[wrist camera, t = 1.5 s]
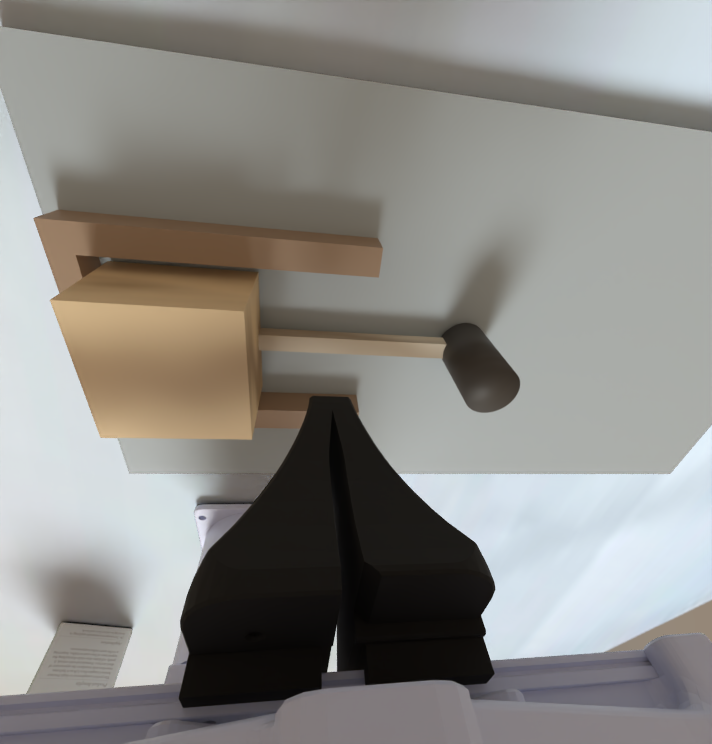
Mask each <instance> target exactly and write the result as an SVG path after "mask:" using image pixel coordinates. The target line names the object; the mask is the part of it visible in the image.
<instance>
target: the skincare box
mask: <svg viewBox="0 0 712 744" xmlns="http://www.w3.org/2000/svg"><path fill="white" fill-rule="evenodd" d="M131 634H132V629H129V628H120V627H109V626H98V625H87V624H75V623H61V624H60V625H59V628H58V630H57V632H56V634H55V636H54V638H53V640H52V642H51V644H50V646H49V648H48V650H47V652H46V655H45V657H44V659H43V661H42V663H41V665H40V667H39V669H38V671H37V673H36V675H35V677H34V679H33V681H32V683H31V685H30V687H29V689H28V691H27V693H26V694H34V693H48V692H62V691H76V690H90V689H104V688H114V685H115V682H116V679H117V676H118V673H119V670H120V667H121V664H122V661H123V658H124V655H125V652H126V649H127V646H128V643H129V640H130V637H131Z"/></svg>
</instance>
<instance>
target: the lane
mask: <svg viewBox="0 0 712 744" xmlns="http://www.w3.org/2000/svg"><path fill="white" fill-rule="evenodd" d="M0 88H1V91H2V94H3V97H4V100H5V103H6V106H7V109H8V112H9V115H10V118H11V121H12V124H13V127H14V130H15V133H16V136H17V139H18V142H19V145H20V148H21V151H22V154H23V157H24V160H25V163H26V166H27V169H28V172H29V175H30V178H31V181H32V184H33V187H34V190H35V193H36V196H37V199H38V202H39V205H40V208H41V211H42V214H43V215H41V216H38V217H35V218H34V221H35V224H36V227H37V230H38V233H39V235H40V238H41V241H42V244H43V247H44V250H45V253H46V256H47V258H48V261H49V264H50V267H51V270H52V273H53V276H54V278H55V281H56V284H57V287H58V290H59V293H61V292H63V291H64V290H66V289H67V288H69V287H70V286H72V285H73V284H74V283H76V282H77V281H79V280H80V279H82V278H83V277H85V276H86V275H88V274H89V273H91V272H92V271H94V270H95V269H97V268H98V267H100V266H101V265H103V264H104V263H106V262H107V261H113V262H127V263H140V264H154V265H168V266H181V267H195V268H209V269H222V270H236V271H250V272H259V298H260V325H261V328H273V329H292V330H311V331H329V332H348V333H367V334H386V335H404V336H423V337H442V335H443V334H444V333H445V332H446V331H447V330H448V329H449V328H451V327H453V326H455V325H457V324H461V323H471V324H474V325H476V326H478V327H479V328H480V329H481V330H482V331H483V333H484V334H485V335H486V336H487V338H488V339H489V340H490V341H491V343H492V344H493V345H494V346H495V348H496V349H497V350H498V351H499V353H500V354H501V355H502V356H503V358H504V359H505V360H506V361H507V363H508V364H509V365H510V366H511V367H512V369H513V370H514V371H515V372H516V374H517V375H518V377H519V379H520V389H519V392H518V394H517V395H516V397H515V398H514V399H513V401H512V402H511V403H509V404H508V405H507V406H505V407H504V408H502V409H500V410H497V411H494V412H489V413H480V412H476V411H473V410H471V409H470V408H469V407H468V406H467V405H466V403H465V401H464V399H463V397H462V396H461V394H460V392H459V390H458V388H457V386H456V384H455V383H454V381H453V379H452V377H451V375H450V373H449V371H448V370H447V368H446V366H445V364H444V362H443V360H442V359H441V358H419V357H397V356H375V355H352V354H330V353H308V352H286V351H264V350H261V353H262V380H263V386H262V391H261V396H260V401H259V407H258V412H257V417H256V422H255V427H254V432H253V437H252V440H239V439H161V438H118V441H119V444H120V447H121V450H122V453H123V456H124V459H125V462H126V465H127V468H128V471H129V474H275V473H276V472H277V470H278V469H279V467H280V466H281V464H282V462H283V461H284V459H285V457H286V456H287V454H288V452H289V450H290V448H291V447H292V445H293V443H294V441H295V439H296V437H297V435H298V433H299V430H300V428H301V426H302V423H303V421H304V418H305V415H306V412H307V409H308V405H309V398H310V397H312V396H336V397H349V398H350V399H351V401H352V404H353V406H354V408H355V410H356V412H357V414H358V416H359V418H360V420H361V422H362V424H363V425H364V427H365V429H366V430H367V432H368V434H369V435H370V437H371V438H372V440H373V442H374V443H375V445H376V446H377V448H378V449H379V450H380V452H381V453H382V455H383V456H384V457H385V459H386V460H387V461H388V463H389V464H390V465H391V467H392V468H393V469H394V470H395V471H396V473H397V474H671V472H672V471H673V470H674V469H675V468H676V466H677V465H678V464H679V463H680V462H681V461H682V459H683V458H684V457H685V456H686V455H687V453H688V452H689V451H690V450H691V449H692V447H693V446H694V445H695V444H696V443H697V442H698V440H699V439H700V438H701V437H702V436H703V434H704V433H705V432H706V431H707V430H708V429H709V427H710V426H711V425H712V132H709V131H703V130H696V129H689V128H682V127H676V126H669V125H662V124H655V123H649V122H642V121H635V120H628V119H622V118H615V117H608V116H601V115H595V114H588V113H581V112H574V111H568V110H561V109H554V108H547V107H541V106H534V105H527V104H520V103H514V102H507V101H500V100H494V99H487V98H480V97H473V96H467V95H460V94H453V93H446V92H440V91H433V90H426V89H419V88H413V87H406V86H399V85H392V84H386V83H379V82H372V81H365V80H359V79H352V78H345V77H338V76H332V75H325V74H318V73H312V72H305V71H298V70H291V69H285V68H278V67H271V66H264V65H258V64H251V63H244V62H237V61H231V60H224V59H217V58H210V57H204V56H197V55H190V54H183V53H177V52H170V51H163V50H156V49H150V48H143V47H136V46H130V45H123V44H116V43H109V42H103V41H96V40H89V39H82V38H76V37H69V36H62V35H55V34H49V33H42V32H35V31H28V30H22V29H15V28H8V27H1V26H0Z"/></svg>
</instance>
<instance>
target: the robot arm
mask: <svg viewBox="0 0 712 744" xmlns="http://www.w3.org/2000/svg"><path fill="white" fill-rule="evenodd" d="M194 515H195V520H196V525H197V529H198V534H199V539H200V543H201V548H202V553H201V557H200V561H199V565H198V569H197V572H196V574H195V577H194V579H193V581H192V584H191V586H190V589H189V591H188V594H187V598H186V601H185V605H184V609H183V612H182V616H181V620H180V627H181V634H180V638H179V641H178V645H177V649H176V653H175V657H174V661H173V664H172V665H170V666H169V668H168V672H167V676H166V679H165V683H164V684H159V685H146V686H132V687H118V688H104V689H90V690H76V691H62V692H48V693H34V694H20V695H6V696H0V744H712V643H711V641H710V640H709V639H708V637H707V636H706V635H705V634H702V633H689V634H675V635H666V636H661V637H659V638H656V639H654V640H652V641H651V642H650V643H648V644H647V645H646V646H645V647H644V650H633V651H619V652H604V653H591V654H577V655H563V656H549V657H535V658H521V659H507V660H493V661H490V658H489V654H488V651H487V648H486V645H485V642H484V639H483V636H485V634H486V630H485V627H484V624H483V621H482V618H481V614H482V613H483V611H484V610H485V608H486V607H487V605H488V603H489V602H490V600H491V598H492V596H493V594H494V591H495V584H494V580H493V578H492V575H491V573H490V570H489V568H488V566H487V564H486V562H485V560H484V558H483V556H482V554H481V552H480V550H479V548H478V546H477V544H476V543H475V542H474V541H472V540H471V539H470V538H468V537H467V536H466V535H464V534H463V533H461V532H460V531H459V530H457V529H456V528H455V527H453V526H452V525H451V524H449V523H448V522H447V521H446V520H444V519H443V518H442V517H441V516H440V515H438V514H437V513H436V512H435V511H434V510H433V509H431V508H430V507H429V506H428V505H427V504H426V503H425V502H424V501H423V500H422V499H421V498H420V497H419V496H418V495H417V494H416V493H415V492H414V491H413V490H412V489H411V488H410V487H409V486H408V485H407V484H406V483H405V482H404V481H403V480H402V478H401V477H400V476H399V475H398V474H397V473H396V471H395V470H394V469H393V468H392V467H391V465H390V464H389V463H388V461H387V460H386V459H385V457H384V456H383V455H382V453H381V452H380V450H379V449H378V448H377V446H376V445H375V443H374V442H373V440H372V438H371V437H370V435H369V434H368V432H367V430H366V429H365V427H364V425H363V424H362V422H361V420H360V418H359V416H358V414H357V412H356V410H355V408H354V406H353V404H352V401H351V399H350V398H349V397H336V396H312V397H310V398H309V405H308V409H307V412H306V415H305V418H304V421H303V423H302V426H301V428H300V430H299V433H298V435H297V437H296V439H295V441H294V443H293V445H292V447H291V448H290V450H289V452H288V454H287V456H286V457H285V459H284V461H283V462H282V464H281V466H280V467H279V469H278V470H277V472H276V473H275V475H274V476H273V478H272V479H271V480H270V482H269V483H268V485H267V486H266V487H265V489H264V490H263V491H262V493H261V494H260V495H259V496H258V498H257V499H256V500H255V501H254V503H253V504H202V505H198V506H196V507H195V511H194ZM336 625H337V672H327V669H328V663H329V658H330V652H331V646H333V642H334V637H335V631H336Z"/></svg>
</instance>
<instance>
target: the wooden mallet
mask: <svg viewBox="0 0 712 744" xmlns="http://www.w3.org/2000/svg"><path fill="white" fill-rule="evenodd" d="M50 301H51V304H52V307H53V310H54V312H55V315H56V318H57V320H58V323H59V326H60V329H61V331H62V334H63V337H64V339H65V342H66V345H67V348H68V350H69V353H70V356H71V358H72V361H73V364H74V367H75V369H76V372H77V375H78V377H79V380H80V383H81V386H82V388H83V391H84V394H85V396H86V399H87V402H88V405H89V407H90V410H91V413H92V415H93V418H94V421H95V424H96V426H97V429H98V432H99V434H100V437H101V438H161V439H239V440H252V437H253V432H254V427H255V422H256V417H257V412H258V407H259V401H260V396H261V391H262V386H263V380H262V353H261V350H264V351H286V352H308V353H330V354H352V355H375V356H397V357H419V358H441V359H442V360H443V362H444V364H445V366H446V368H447V370H448V371H449V373H450V375H451V377H452V379H453V381H454V383H455V384H456V386H457V388H458V390H459V392H460V394H461V396H462V397H463V399H464V401H465V403H466V405H467V406H468V407H469V408H470V409H471V410H473V411H476V412H480V413H489V412H494V411H497V410H500V409H502V408H504V407H505V406H507V405H508V404H509V403H511V402H512V401H513V399H514V398H515V397H516V395H517V394H518V392H519V389H520V379H519V377H518V375H517V374H516V372H515V371H514V370H513V369H512V367H511V366H510V365H509V364H508V363H507V361H506V360H505V359H504V358H503V356H502V355H501V354H500V353H499V351H498V350H497V349H496V348H495V346H494V345H493V344H492V343H491V341H490V340H489V339H488V338H487V336H486V335H485V334H484V333H483V331H482V330H481V329H480V328H479V327H478V326H476V325H474V324H471V323H461V324H457V325H455V326H453V327H451V328H449V329H448V330H447V331H446V332H445V333H444V334H443V335H442V337H423V336H404V335H386V334H367V333H348V332H329V331H311V330H292V329H273V328H261V325H260V298H259V272H250V271H236V270H222V269H209V268H195V267H181V266H168V265H154V264H140V263H127V262H113V261H107V262H106V263H104V264H103V265H101V266H100V267H98V268H97V269H95V270H94V271H92V272H91V273H89V274H88V275H86V276H85V277H83V278H82V279H80V280H79V281H77V282H76V283H74V284H73V285H72V286H70V287H69V288H67V289H66V290H64V291H63V292H61V293H60V294H58V295H57V296H55V297H54V298H52V299H51V300H50Z"/></svg>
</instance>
